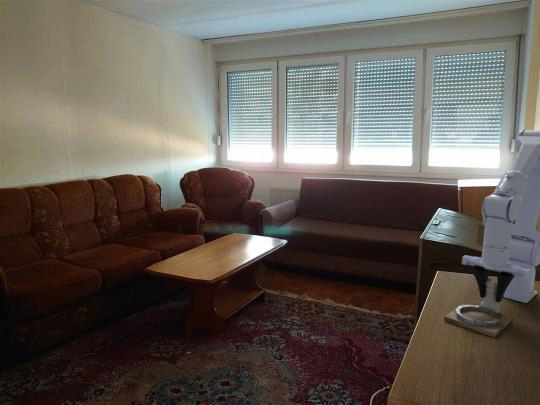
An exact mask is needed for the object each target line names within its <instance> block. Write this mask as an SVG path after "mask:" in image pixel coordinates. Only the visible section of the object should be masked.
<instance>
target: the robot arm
mask: <svg viewBox="0 0 540 405" xmlns="http://www.w3.org/2000/svg"><path fill="white" fill-rule="evenodd" d="M515 149H516V153H517V154H516V157H515V160H514V162H513V164H512V167H511V169H510V171H507V172H504V174H502V177H501V178H500V180H499V182H498V184H497V186H496V187H495V189H494V191H493V192H492V194H490V195H487V196H486V197H485V198H484V200H483V203H482V205H481V215H482V225H484V233H483V243H482V252H481V256H480V257H479V256H472V255H466V254H465V255H464V256H462V258H461V264H462V265H464V266H465V265H466V266H467V265H469V266H471V267H472V266H473V267H474V268H473V269H472V274H473V276H474V278H475V281H476V282H477V286H478V291H479V298H481V299H483V298H485V295H486V288H487V285H486V284H485V282H486V281H487V279H489V276H490V272H491V271H494V272H498V273H499V274H498V275H497V277H496V278H497V279H496V280H498V290H497V296H496V302H498V303H501V302H502V301H503V299H504V298H506V299H509V300H514V301H517V302H521V303H525V304H527V303H528V302H530V301H531V300H532V299H533V298H535V296H536V295H537V294H538V291H537V290H534V287H535V279H536V268H535V267H537V266H538V265H540V232H539V231H538V230H537V229H536V227H537V224H538V220H539V217H540V130H539V129H538V130H537V129H534V130H533V129H521V130H520V131H519V132H518V133H517V135H516V139H515ZM514 221H515V222H514Z"/></svg>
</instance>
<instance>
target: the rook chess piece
mask: <svg viewBox="0 0 540 405" xmlns="http://www.w3.org/2000/svg"><path fill="white" fill-rule="evenodd" d="M485 284H486V285H487V288H486V295H485V297H484V299H483V298H482V299H483V300H482V301H480V306H482V307H485V308H489V309H491V310H493V311H495V312H497V313H498V314H499V313H500V312H501V305H500V302H496V296H497V290H498V280H497V279H496V278H493V280H492V278H491V277H490V278H489V277H488V279H487V281H486V282H485Z"/></svg>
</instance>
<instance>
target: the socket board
mask: <svg viewBox="0 0 540 405" xmlns="http://www.w3.org/2000/svg"><path fill="white" fill-rule="evenodd" d="M443 318H444V319H443V320H444V321H445V322H448V323H449V324H450V323H451V324H454V325H456V326H460V327H463V328H464V329H465V328H466V329H469V330H471V331H474V332H477V333H480V334H483V335H486V336H487V337H488V336H489V337H492V338H496V337H497V336H498V334H500V333H501V332H502V331H503V330H504V329H505V328H506V327H507V326H508V325H509V324H510V323H511V319H512V318H511V317H507V316H504V315H501V314H499V313H497V312H495V311H493V310H491V309H489V308H485V307H482V306H481V305H474V304H464V303H461V304H460V305H458V306H457V307H456V308H454V309H453V310H452V311H450V312H448V314H446V315H445V316H444V317H443Z"/></svg>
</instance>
